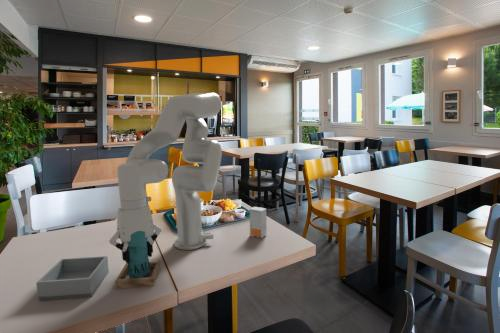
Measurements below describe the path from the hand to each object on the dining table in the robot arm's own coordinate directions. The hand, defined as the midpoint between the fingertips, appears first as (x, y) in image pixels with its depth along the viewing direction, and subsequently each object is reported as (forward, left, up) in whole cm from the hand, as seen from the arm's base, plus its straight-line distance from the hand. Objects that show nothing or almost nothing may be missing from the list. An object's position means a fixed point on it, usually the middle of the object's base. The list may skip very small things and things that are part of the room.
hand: (138, 258), depth 94 cm
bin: (+18, +2, -7) cm, 19 cm away
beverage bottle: (0, 0, -7) cm, 7 cm away
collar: (0, 0, -7) cm, 7 cm away
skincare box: (-42, -28, -7) cm, 51 cm away
